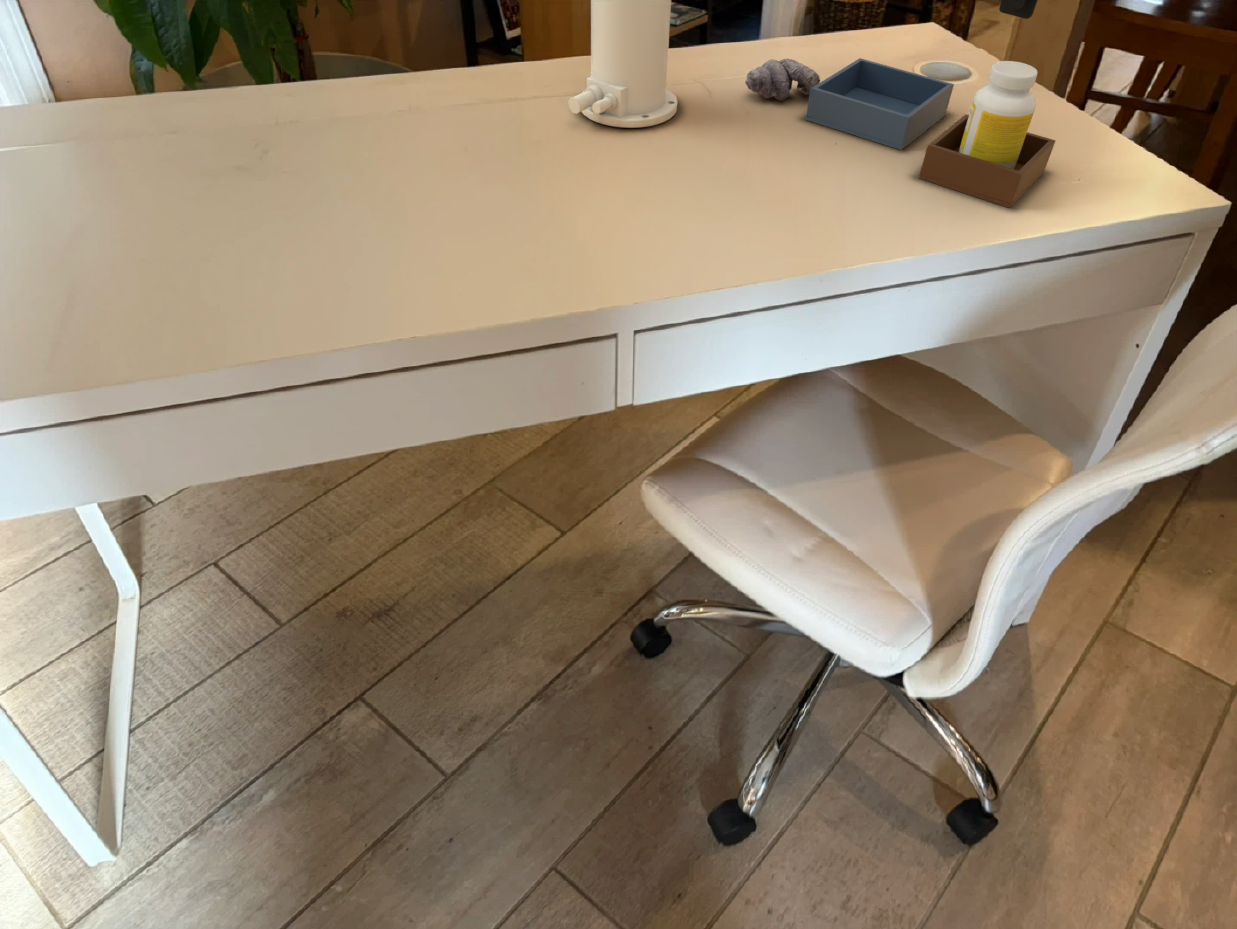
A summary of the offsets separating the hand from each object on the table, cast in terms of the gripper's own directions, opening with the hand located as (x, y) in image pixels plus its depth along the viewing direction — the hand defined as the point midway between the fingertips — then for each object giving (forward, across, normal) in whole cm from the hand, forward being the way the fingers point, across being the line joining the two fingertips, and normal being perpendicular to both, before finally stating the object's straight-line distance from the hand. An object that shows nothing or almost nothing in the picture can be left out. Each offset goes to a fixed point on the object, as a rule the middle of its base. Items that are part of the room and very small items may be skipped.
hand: (1032, 2), depth 92 cm
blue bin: (+19, -7, -16) cm, 26 cm away
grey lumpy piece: (+19, -4, -29) cm, 35 cm away
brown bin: (+19, 0, +1) cm, 19 cm away
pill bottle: (+18, 0, +1) cm, 18 cm away
